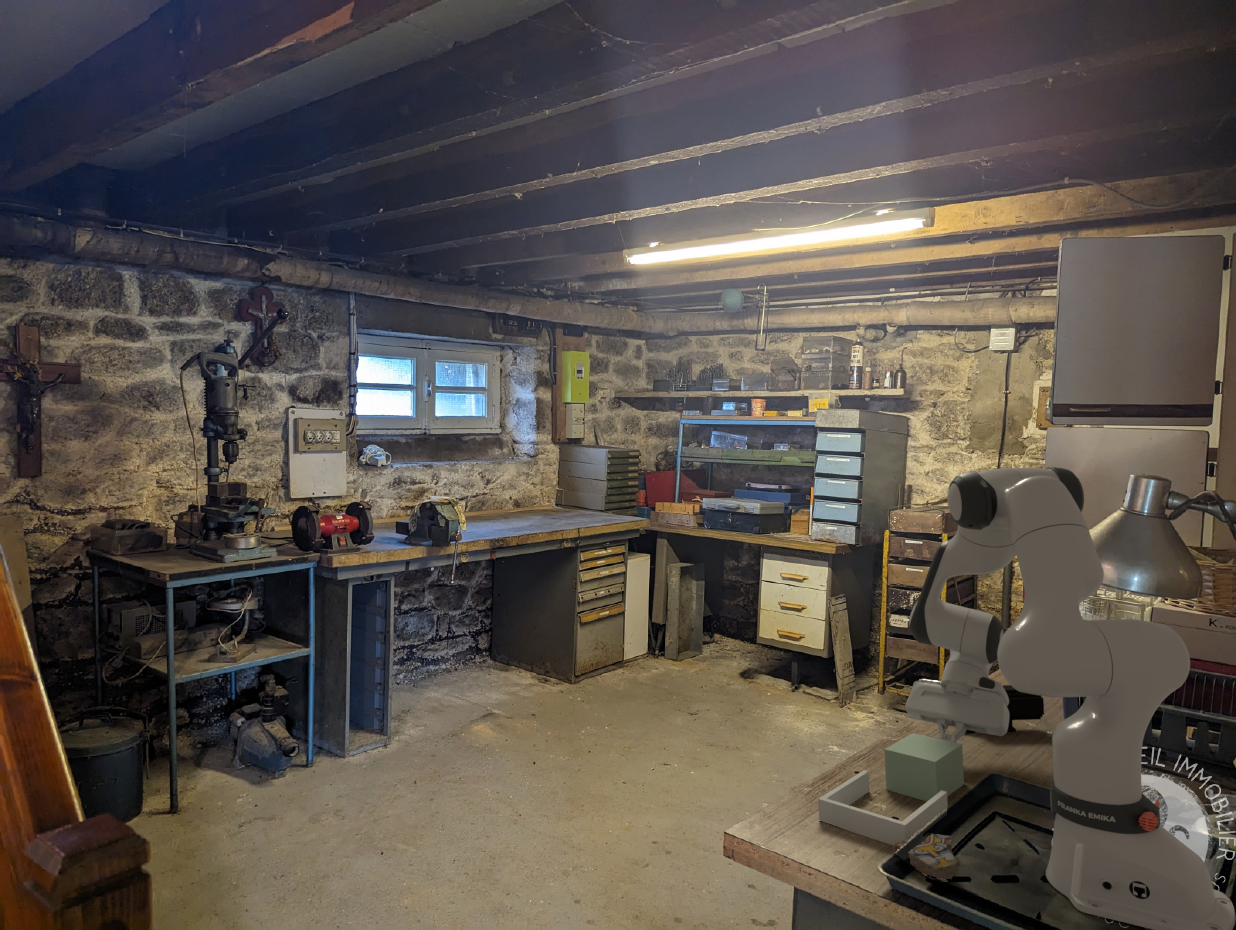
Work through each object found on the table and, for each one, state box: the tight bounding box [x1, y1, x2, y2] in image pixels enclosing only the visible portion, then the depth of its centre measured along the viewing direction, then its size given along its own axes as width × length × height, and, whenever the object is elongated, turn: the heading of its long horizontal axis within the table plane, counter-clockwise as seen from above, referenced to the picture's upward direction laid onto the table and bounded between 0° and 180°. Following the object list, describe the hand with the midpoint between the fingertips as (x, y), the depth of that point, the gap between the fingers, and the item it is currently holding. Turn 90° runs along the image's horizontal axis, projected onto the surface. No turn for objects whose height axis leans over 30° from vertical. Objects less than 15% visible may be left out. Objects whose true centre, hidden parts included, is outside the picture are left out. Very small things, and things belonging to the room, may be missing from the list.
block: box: [884, 732, 965, 802], centre depth 150 cm, size 10×12×8 cm
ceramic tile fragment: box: [891, 833, 959, 880], centre depth 121 cm, size 12×3×10 cm
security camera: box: [964, 684, 1045, 735], centre depth 179 cm, size 7×18×10 cm, turn 88°
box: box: [817, 769, 949, 847], centre depth 138 cm, size 16×17×4 cm
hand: (946, 743), depth 158 cm, fingers closed
